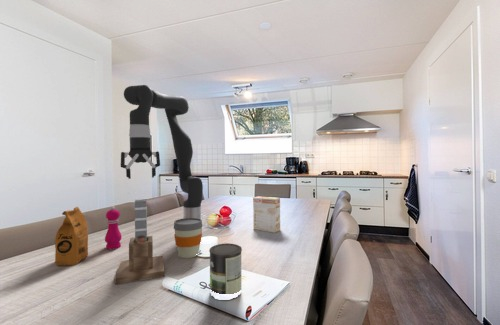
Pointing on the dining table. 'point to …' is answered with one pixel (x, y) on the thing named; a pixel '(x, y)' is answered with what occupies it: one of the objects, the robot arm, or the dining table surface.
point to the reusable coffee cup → (188, 236)
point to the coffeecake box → (266, 213)
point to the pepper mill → (113, 229)
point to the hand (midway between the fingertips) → (141, 178)
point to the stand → (140, 262)
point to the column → (141, 219)
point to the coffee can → (225, 268)
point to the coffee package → (71, 239)
